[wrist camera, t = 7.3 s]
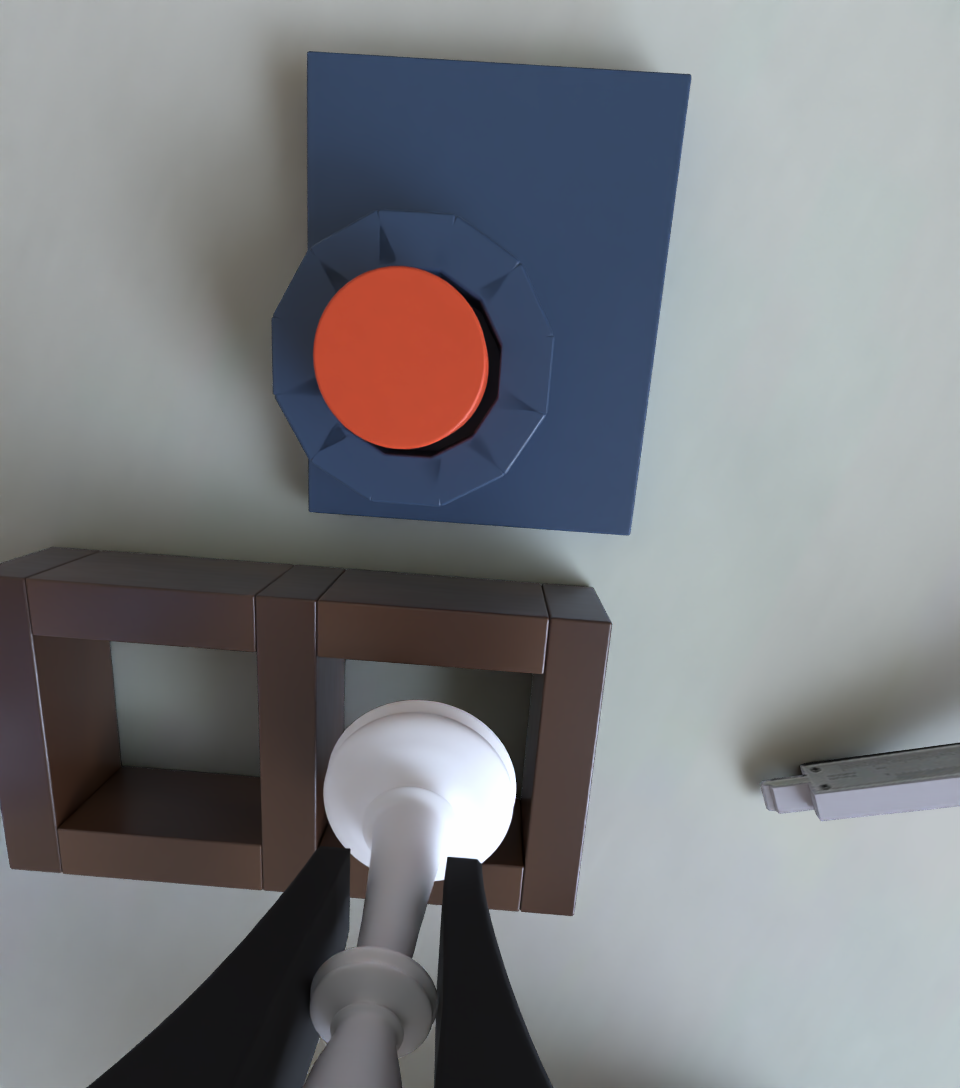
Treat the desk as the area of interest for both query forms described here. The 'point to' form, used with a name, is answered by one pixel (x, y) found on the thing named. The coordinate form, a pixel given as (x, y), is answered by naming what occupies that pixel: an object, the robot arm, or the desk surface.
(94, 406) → the desk surface
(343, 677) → the holder
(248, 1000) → the robot arm
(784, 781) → the caliper
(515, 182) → the station
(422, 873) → the chess piece
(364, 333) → the station button
